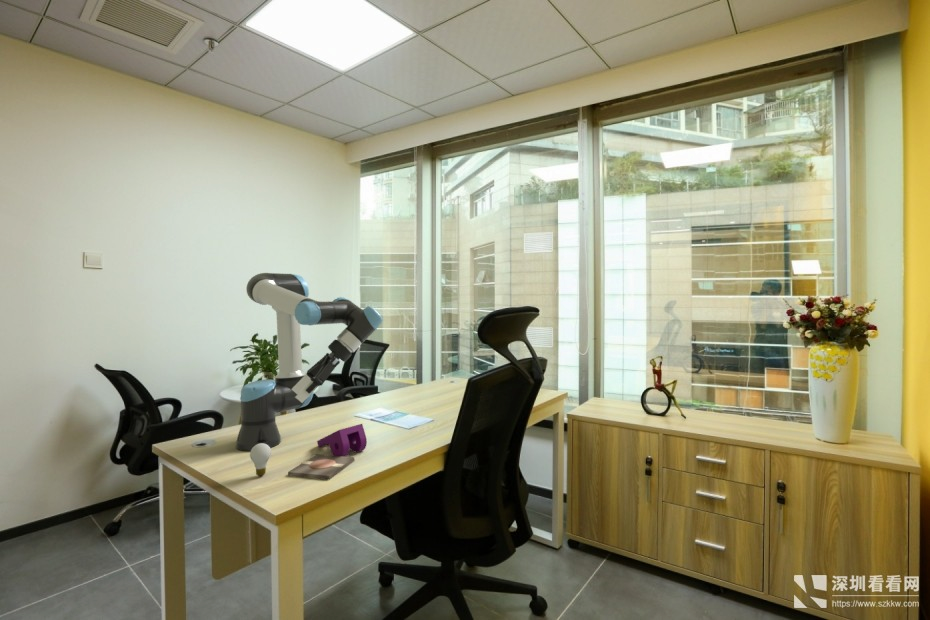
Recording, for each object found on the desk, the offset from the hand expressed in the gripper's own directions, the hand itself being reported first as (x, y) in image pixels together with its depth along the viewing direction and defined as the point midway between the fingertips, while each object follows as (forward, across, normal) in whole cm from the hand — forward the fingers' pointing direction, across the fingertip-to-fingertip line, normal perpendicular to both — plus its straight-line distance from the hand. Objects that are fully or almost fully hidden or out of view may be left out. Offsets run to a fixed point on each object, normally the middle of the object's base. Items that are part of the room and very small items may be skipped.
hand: (296, 396), depth 138 cm
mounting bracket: (+6, +14, -28) cm, 32 cm away
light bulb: (+24, 0, -9) cm, 26 cm away
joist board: (+12, -1, -22) cm, 25 cm away
